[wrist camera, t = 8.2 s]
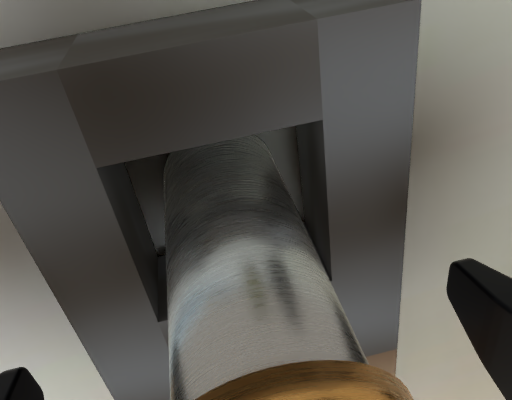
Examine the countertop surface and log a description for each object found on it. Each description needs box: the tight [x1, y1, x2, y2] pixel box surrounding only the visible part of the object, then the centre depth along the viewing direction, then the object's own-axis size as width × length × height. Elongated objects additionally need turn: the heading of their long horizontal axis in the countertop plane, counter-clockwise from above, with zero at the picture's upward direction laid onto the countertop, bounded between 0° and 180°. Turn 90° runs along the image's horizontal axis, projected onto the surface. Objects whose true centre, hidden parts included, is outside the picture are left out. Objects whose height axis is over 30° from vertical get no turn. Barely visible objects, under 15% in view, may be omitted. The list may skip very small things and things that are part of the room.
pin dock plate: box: [0, 0, 421, 400], centre depth 17 cm, size 24×10×3 cm, turn 8°
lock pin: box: [163, 135, 413, 400], centre depth 10 cm, size 4×4×10 cm
